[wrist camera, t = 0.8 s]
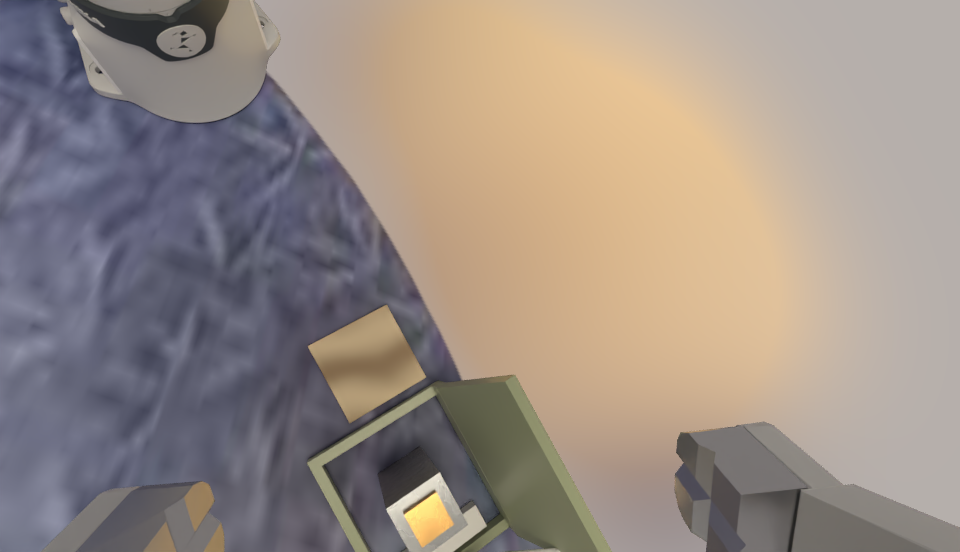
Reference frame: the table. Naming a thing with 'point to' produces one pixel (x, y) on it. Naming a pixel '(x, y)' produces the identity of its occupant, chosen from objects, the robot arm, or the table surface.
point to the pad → (367, 363)
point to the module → (420, 502)
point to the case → (491, 470)
